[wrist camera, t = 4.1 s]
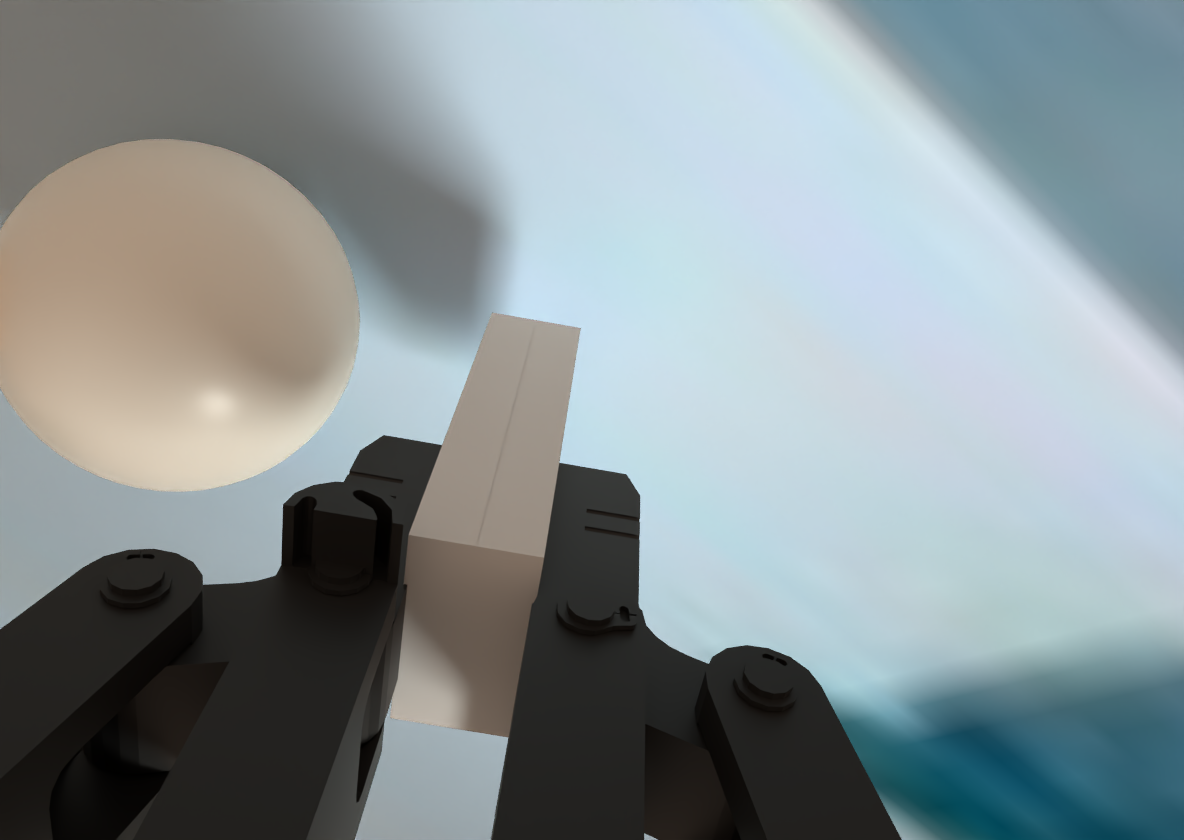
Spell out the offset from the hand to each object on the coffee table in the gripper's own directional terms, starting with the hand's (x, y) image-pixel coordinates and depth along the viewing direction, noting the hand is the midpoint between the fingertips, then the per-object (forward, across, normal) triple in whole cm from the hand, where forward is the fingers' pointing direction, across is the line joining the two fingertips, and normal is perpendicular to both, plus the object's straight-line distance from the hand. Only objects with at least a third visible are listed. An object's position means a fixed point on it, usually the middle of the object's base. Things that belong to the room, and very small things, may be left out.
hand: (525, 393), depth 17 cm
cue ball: (-1, +6, -1) cm, 6 cm away
